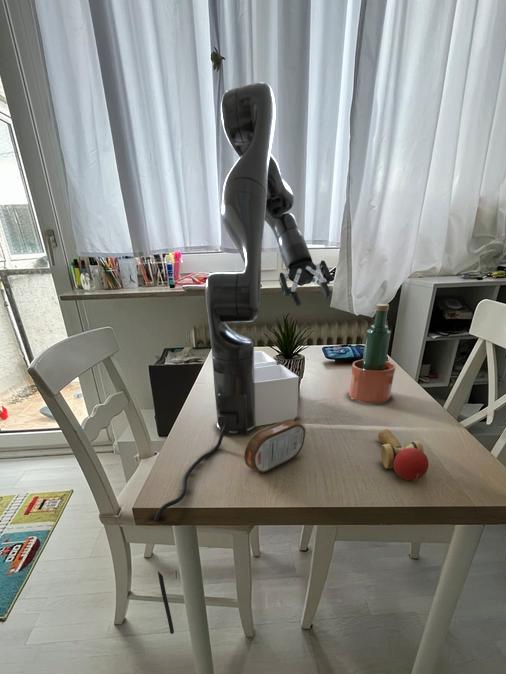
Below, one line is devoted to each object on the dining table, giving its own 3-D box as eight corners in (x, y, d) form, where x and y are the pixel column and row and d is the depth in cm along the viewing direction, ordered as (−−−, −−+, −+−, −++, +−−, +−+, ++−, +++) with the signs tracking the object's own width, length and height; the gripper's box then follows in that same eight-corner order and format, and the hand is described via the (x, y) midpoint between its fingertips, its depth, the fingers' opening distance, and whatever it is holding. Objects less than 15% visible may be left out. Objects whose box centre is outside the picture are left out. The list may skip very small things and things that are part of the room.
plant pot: (392, 405, 103) (399, 371, 99) (350, 403, 105) (354, 370, 100) (386, 390, 113) (391, 359, 108) (347, 389, 114) (350, 358, 109)
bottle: (381, 399, 106) (397, 306, 93) (359, 398, 106) (371, 306, 94) (378, 391, 110) (393, 302, 98) (357, 391, 111) (368, 302, 99)
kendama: (362, 448, 86) (390, 482, 70) (370, 420, 84) (401, 450, 68) (395, 452, 87) (431, 488, 71) (404, 425, 84) (443, 456, 68)
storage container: (296, 419, 98) (298, 376, 92) (255, 426, 95) (254, 382, 89) (262, 388, 118) (262, 351, 112) (227, 393, 115) (225, 355, 109)
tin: (295, 449, 84) (297, 412, 80) (306, 454, 82) (309, 417, 78) (243, 474, 76) (242, 435, 72) (254, 480, 74) (253, 441, 70)
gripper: (272, 249, 108) (291, 301, 107) (320, 235, 109) (340, 286, 107) (270, 267, 116) (288, 315, 114) (314, 253, 117) (333, 302, 115)
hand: (313, 301), depth 111 cm, fingers open, 8 cm apart
